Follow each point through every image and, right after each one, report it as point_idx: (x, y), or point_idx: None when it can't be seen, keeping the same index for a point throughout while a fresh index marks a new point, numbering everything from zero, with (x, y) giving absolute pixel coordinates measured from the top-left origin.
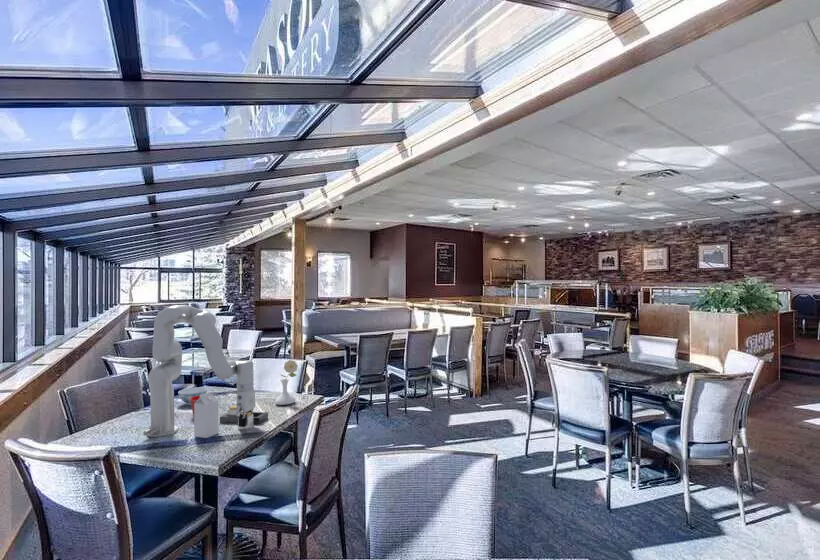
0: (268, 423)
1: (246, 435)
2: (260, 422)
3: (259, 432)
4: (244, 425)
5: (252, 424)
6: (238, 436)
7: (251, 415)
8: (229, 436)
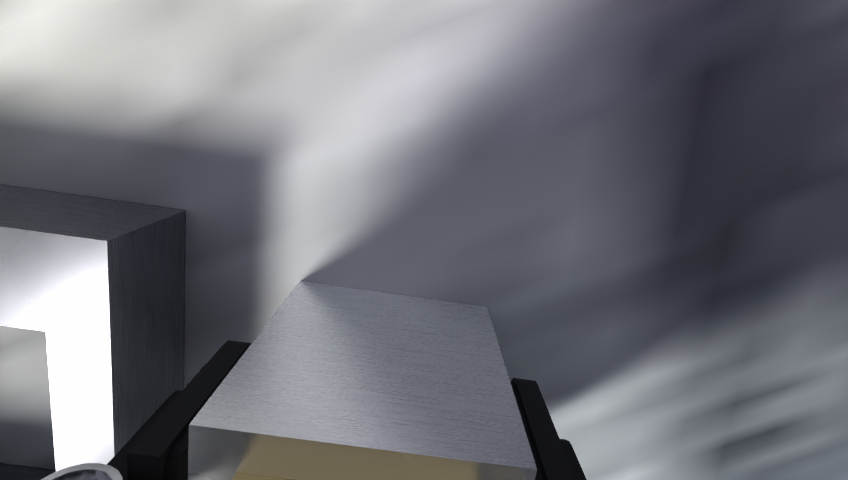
0: (125, 32)
1: (794, 224)
2: (130, 207)
3: (675, 27)
4: (537, 401)
5: (323, 301)
6: (812, 340)
7: (313, 428)
8: (774, 469)
